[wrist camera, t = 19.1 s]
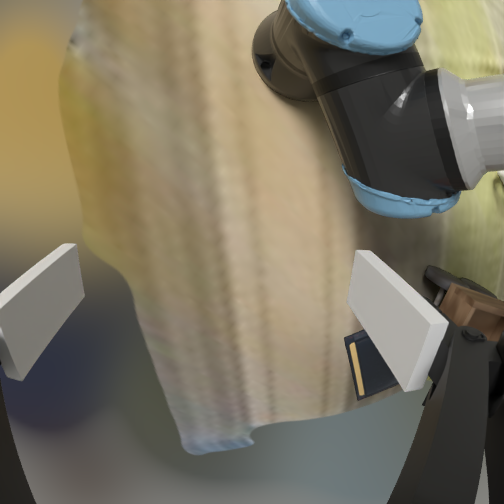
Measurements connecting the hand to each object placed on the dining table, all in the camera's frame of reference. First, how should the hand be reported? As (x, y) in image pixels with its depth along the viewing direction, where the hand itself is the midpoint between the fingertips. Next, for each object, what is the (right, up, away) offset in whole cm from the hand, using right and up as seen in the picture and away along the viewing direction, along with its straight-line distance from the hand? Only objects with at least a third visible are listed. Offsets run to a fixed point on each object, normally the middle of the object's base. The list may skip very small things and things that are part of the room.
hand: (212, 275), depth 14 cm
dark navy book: (+29, -21, +45) cm, 57 cm away
